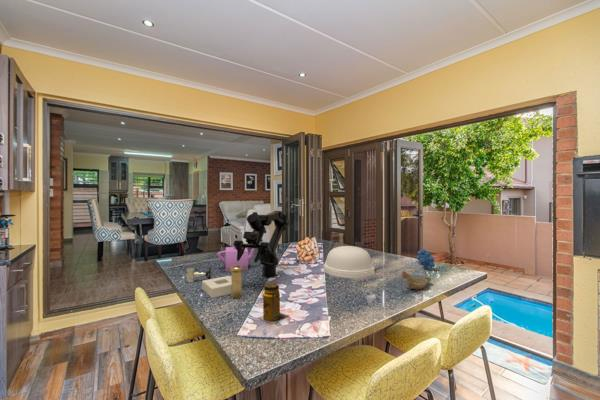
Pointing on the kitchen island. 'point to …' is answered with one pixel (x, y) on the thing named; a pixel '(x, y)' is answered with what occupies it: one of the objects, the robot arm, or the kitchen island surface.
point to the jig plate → (217, 286)
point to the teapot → (232, 258)
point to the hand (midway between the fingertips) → (246, 261)
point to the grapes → (425, 259)
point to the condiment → (271, 304)
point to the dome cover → (349, 262)
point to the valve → (196, 274)
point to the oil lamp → (415, 281)
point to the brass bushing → (236, 281)
